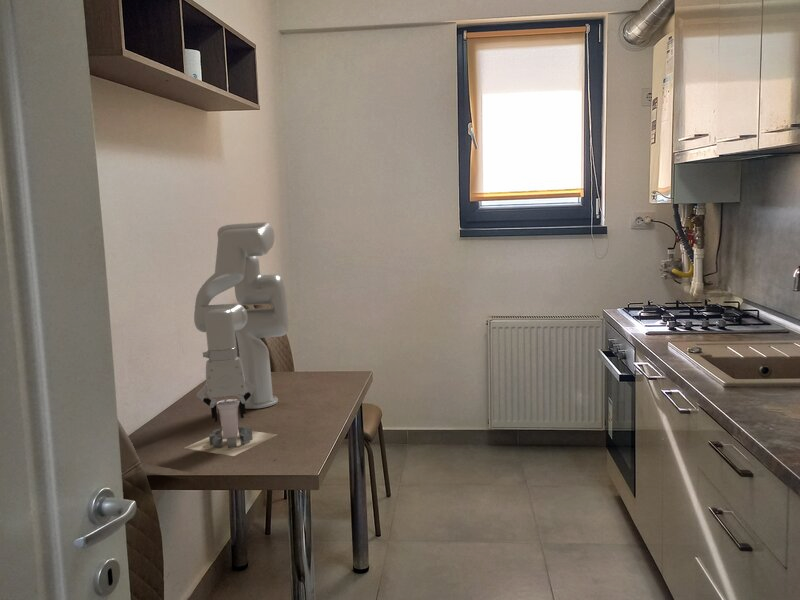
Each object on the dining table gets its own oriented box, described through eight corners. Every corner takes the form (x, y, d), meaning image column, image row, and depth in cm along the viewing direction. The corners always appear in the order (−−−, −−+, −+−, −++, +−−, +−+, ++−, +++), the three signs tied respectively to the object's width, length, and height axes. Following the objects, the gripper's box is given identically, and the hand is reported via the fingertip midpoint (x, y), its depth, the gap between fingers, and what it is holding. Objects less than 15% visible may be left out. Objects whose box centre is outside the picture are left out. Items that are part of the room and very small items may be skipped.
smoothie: (220, 433, 208) (216, 384, 206) (244, 431, 208) (239, 382, 206) (217, 441, 201) (212, 390, 199) (241, 439, 202) (236, 388, 200)
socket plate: (183, 453, 202) (183, 448, 202) (229, 432, 217) (229, 427, 217) (234, 461, 193) (233, 456, 193) (278, 439, 208) (277, 434, 208)
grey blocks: (201, 445, 203) (200, 436, 203) (230, 432, 213) (229, 424, 212) (232, 450, 197) (231, 441, 197) (261, 436, 207) (260, 428, 207)
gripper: (189, 361, 196) (196, 427, 198) (256, 353, 200) (262, 418, 203) (189, 355, 203) (196, 419, 206) (254, 348, 207) (259, 410, 210)
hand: (229, 418), depth 204 cm, fingers closed on smoothie, 6 cm apart
